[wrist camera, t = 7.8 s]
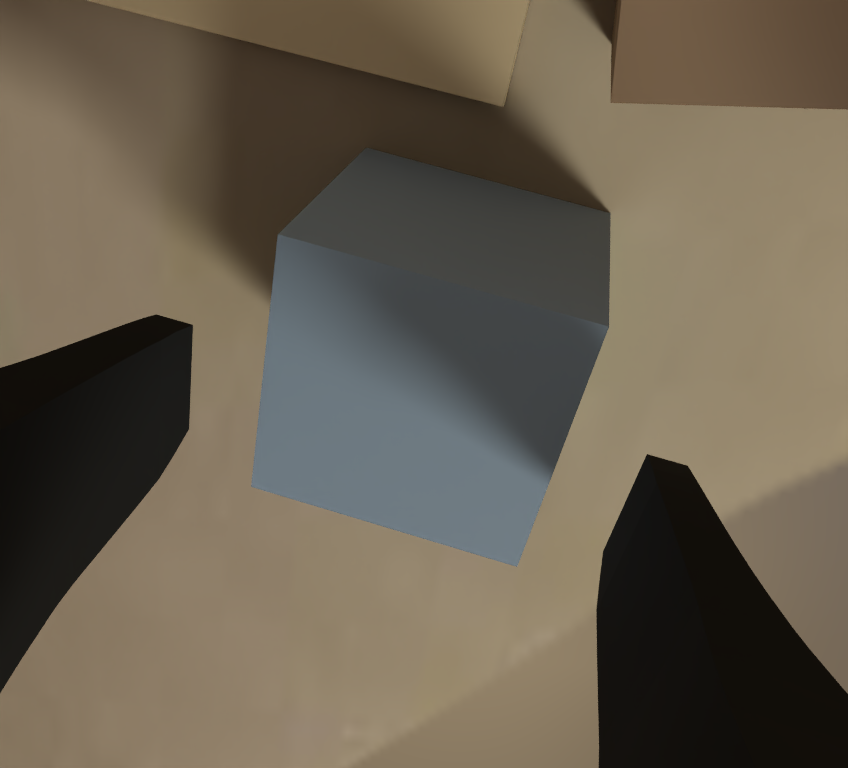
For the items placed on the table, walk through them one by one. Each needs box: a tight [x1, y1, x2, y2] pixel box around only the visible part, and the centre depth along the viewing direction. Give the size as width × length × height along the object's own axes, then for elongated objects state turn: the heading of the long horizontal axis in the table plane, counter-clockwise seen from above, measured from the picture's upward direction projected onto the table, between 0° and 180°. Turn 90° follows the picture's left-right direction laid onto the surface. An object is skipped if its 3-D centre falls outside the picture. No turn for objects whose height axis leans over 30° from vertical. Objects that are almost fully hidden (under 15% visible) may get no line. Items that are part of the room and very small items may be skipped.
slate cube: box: [251, 148, 610, 567], centre depth 15 cm, size 5×5×5 cm
